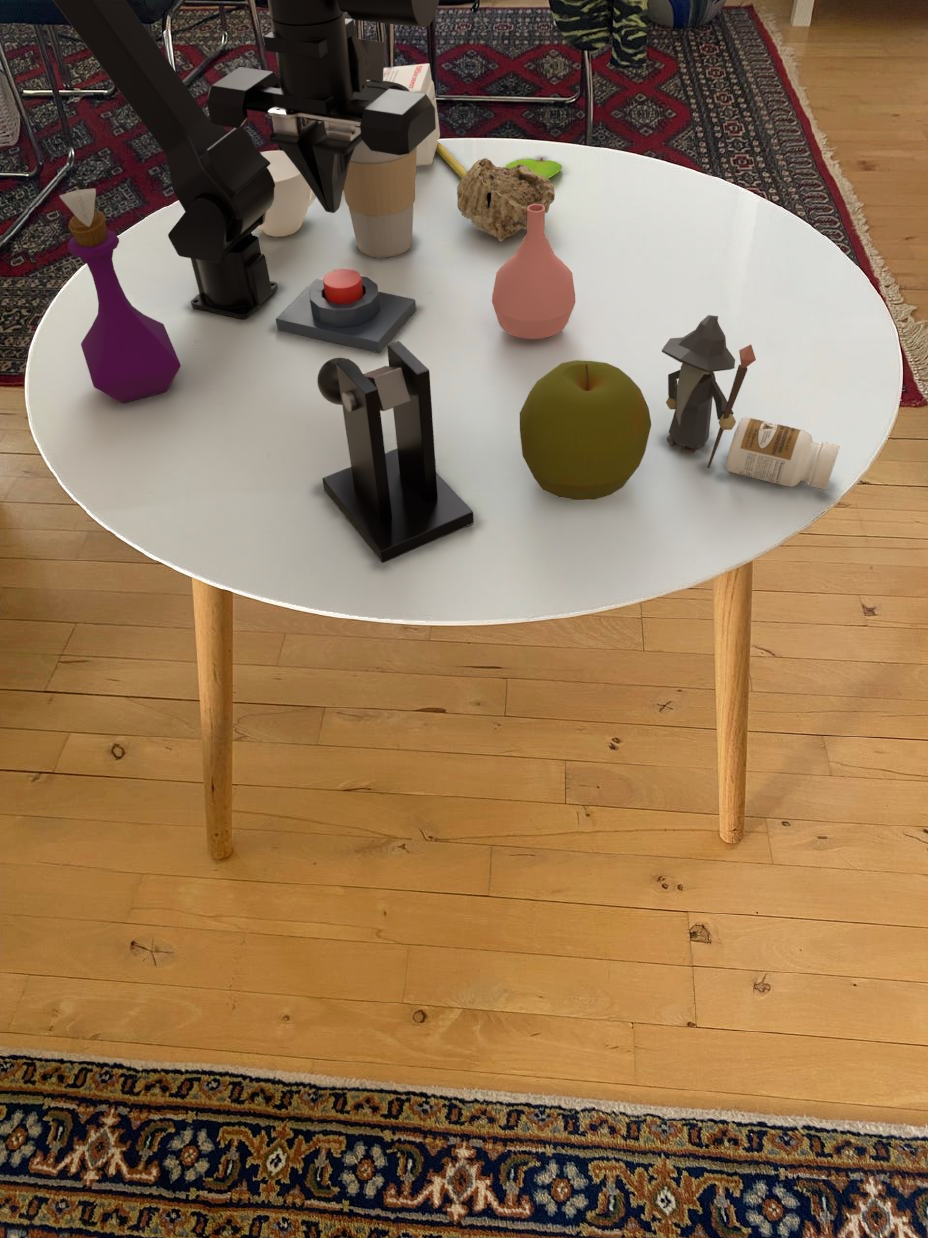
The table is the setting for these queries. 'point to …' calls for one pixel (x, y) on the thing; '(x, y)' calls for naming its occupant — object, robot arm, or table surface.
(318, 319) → the control block
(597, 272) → the table surface
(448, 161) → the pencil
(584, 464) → the apple
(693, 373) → the wizard figurine
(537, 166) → the decorative leaf
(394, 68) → the ink box
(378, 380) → the lever
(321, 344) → the table surface
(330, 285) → the button
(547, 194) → the brown rough chunky piece
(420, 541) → the bracket
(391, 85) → the coffee cup
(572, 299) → the pink vase
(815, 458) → the pill bottle
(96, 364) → the perfume bottle
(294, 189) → the cup
